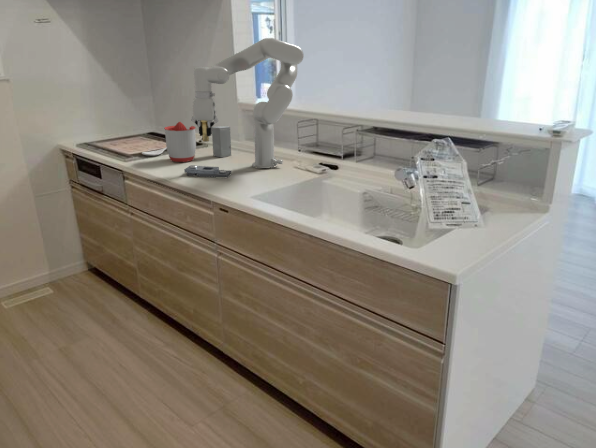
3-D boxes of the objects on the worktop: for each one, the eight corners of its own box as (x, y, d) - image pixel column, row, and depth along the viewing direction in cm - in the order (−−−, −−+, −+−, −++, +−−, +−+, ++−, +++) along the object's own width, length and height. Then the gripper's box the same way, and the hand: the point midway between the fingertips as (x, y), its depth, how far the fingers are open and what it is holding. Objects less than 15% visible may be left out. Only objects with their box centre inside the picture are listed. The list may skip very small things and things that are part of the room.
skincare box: (221, 157, 262) (220, 128, 257) (212, 156, 266) (210, 126, 261) (232, 155, 269) (231, 126, 263) (223, 153, 273) (222, 125, 267)
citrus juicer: (203, 157, 263) (201, 119, 256) (188, 164, 247) (186, 124, 240) (177, 155, 267) (175, 118, 260) (161, 162, 251) (157, 122, 244)
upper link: (219, 173, 232) (218, 165, 230) (213, 177, 224) (213, 169, 223) (190, 171, 234) (190, 163, 232) (184, 175, 226) (184, 167, 225)
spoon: (196, 150, 282) (196, 144, 280) (148, 158, 259) (147, 152, 258) (187, 147, 287) (186, 142, 286) (138, 156, 265) (138, 149, 263)
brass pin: (211, 140, 231) (210, 119, 228) (208, 142, 228) (207, 120, 224) (203, 140, 232) (202, 118, 229) (200, 141, 228) (199, 120, 225)
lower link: (231, 173, 231) (231, 169, 230) (226, 178, 223) (226, 173, 223) (202, 172, 233) (202, 167, 232) (197, 176, 225) (196, 171, 225)
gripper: (223, 95, 225) (224, 135, 231) (189, 94, 228) (192, 133, 234) (217, 96, 218) (219, 138, 224) (183, 95, 221) (185, 136, 227)
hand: (205, 135), depth 229 cm, fingers closed on brass pin, 3 cm apart
